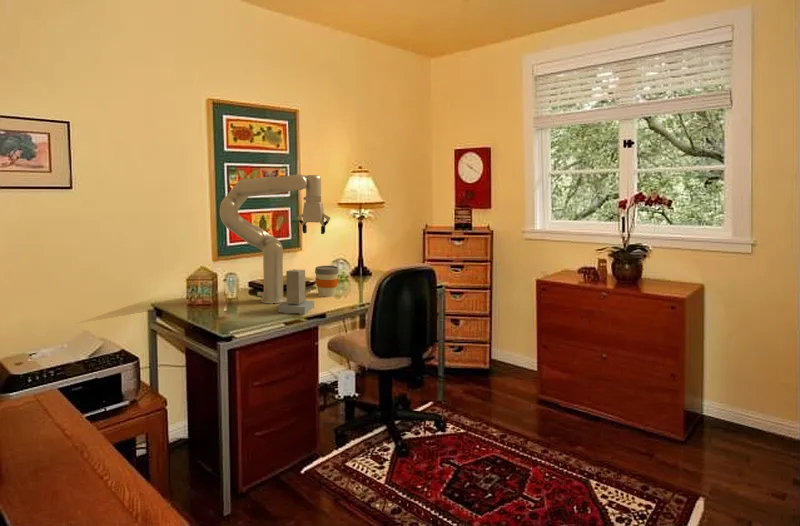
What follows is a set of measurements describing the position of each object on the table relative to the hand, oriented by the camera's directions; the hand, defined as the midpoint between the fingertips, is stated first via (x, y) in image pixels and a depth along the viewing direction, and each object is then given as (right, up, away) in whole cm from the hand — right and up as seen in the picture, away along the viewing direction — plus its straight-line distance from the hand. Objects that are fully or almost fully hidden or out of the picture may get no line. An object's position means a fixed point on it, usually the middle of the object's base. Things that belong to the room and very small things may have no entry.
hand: (313, 233), depth 277 cm
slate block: (-5, -38, -18) cm, 42 cm away
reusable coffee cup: (+5, -33, +16) cm, 36 cm away
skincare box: (-6, -34, -18) cm, 39 cm away
